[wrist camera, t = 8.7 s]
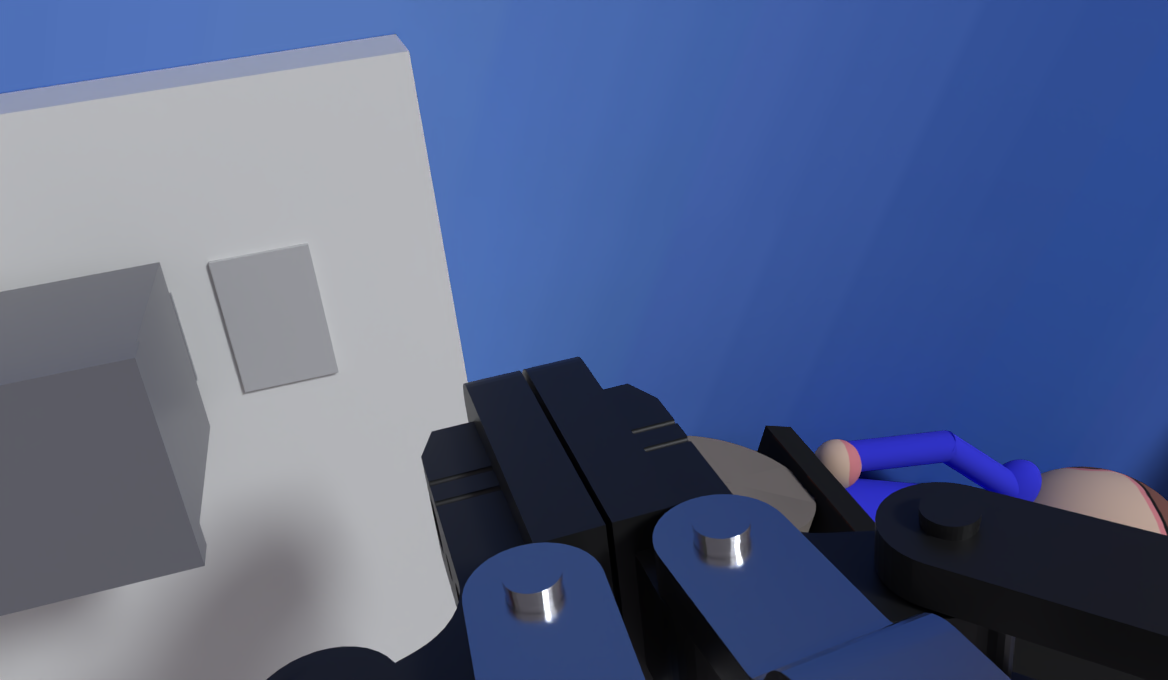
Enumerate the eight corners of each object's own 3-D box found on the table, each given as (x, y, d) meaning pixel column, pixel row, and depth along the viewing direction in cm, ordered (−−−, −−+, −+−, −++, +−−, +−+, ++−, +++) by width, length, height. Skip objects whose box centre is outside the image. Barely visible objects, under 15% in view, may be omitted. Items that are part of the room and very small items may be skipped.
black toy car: (539, 594, 26) (1063, 625, 29) (588, 850, 19) (1272, 853, 22) (590, 347, 23) (1156, 412, 27) (668, 536, 16) (1422, 592, 20)
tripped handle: (164, 254, 16) (134, 357, 13) (218, 430, 17) (204, 565, 14) (-57, 295, 15) (-152, 416, 12) (16, 474, 17) (-49, 628, 13)
